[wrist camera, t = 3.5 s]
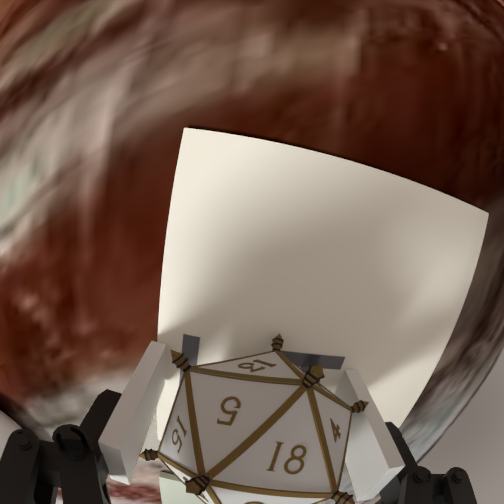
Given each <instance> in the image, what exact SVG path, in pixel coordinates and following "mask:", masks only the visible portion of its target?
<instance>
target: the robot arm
mask: <svg viewBox="0 0 504 504" xmlns="http://www.w3.org/2000/svg"><path fill="white" fill-rule="evenodd" d="M165 362H166V344H163V343H159V342H155V341H151V342H150V344H149V346H148V348H147V350H146V351H145V353H144V355H143V357H142V359H141V360H140V362H139V364H138V366H137V368H136V369H135V371H134V373H133V375H132V377H131V379H130V381H129V382H128V384H127V386H126V388H125V390H124V392H123V394H121V393H117V392H114V391H111V390H108V389H107V390H105V391H104V392H102V393H101V394H99V395H98V396H97V398H96V400H95V401H94V403H93V405H92V406H91V408H90V410H89V412H88V413H87V415H86V416H85V418H84V420H83V421H82V423H81V425H80V426H77V425H72V424H67V425H62V426H60V427H58V428H57V429H56V430H55V431H54V432H53V436H52V438H53V441H54V442H48V441H43V440H39V439H38V437H37V436H36V435H35V434H34V433H33V432H32V431H30V430H28V429H17V430H15V431H13V432H12V433H11V434H10V436H9V438H8V440H7V443H6V445H5V448H4V451H3V453H2V456H1V459H0V504H55V503H56V497H57V491H58V487H59V488H61V490H62V498H63V504H111V500H110V496H109V492H108V487H107V484H106V479H107V476H108V474H109V475H110V478H111V479H113V480H116V481H119V482H122V483H125V484H128V485H130V482H131V479H132V476H133V473H134V470H135V467H136V464H137V461H138V458H139V455H140V452H141V449H142V446H143V444H144V441H145V438H146V435H147V432H148V429H149V427H150V424H151V421H152V418H153V416H154V413H155V410H156V407H157V405H158V402H159V399H160V396H161V394H162V391H163V388H164V386H165ZM334 395H336V396H337V397H338V398H340V399H341V400H342V401H344V402H345V403H346V404H348V405H349V406H353V404H354V403H356V402H357V403H358V401H360V400H362V401H366V402H369V404H368V405H367V406H366V408H365V410H364V411H360V413H357V412H356V413H353V414H352V418H351V426H350V432H349V439H348V445H347V451H346V456H345V462H346V466H347V469H348V472H349V476H350V479H351V482H352V486H353V489H354V493H355V496H356V499H357V502H358V501H364V500H369V499H373V498H374V497H375V496H376V495H377V494H378V493H380V496H381V499H380V500H379V501H377V502H376V503H375V504H477V501H476V498H475V495H474V492H473V489H472V486H471V483H470V480H469V477H468V474H467V473H466V471H465V470H463V469H462V468H459V467H453V468H451V469H450V470H449V471H448V472H447V473H446V474H431V473H430V471H429V470H428V469H426V468H425V467H422V466H418V465H417V464H416V462H415V460H414V458H413V456H412V454H411V452H410V450H409V448H408V446H407V444H405V440H404V438H402V434H401V433H400V431H399V429H398V428H397V427H396V426H395V425H394V424H393V423H392V422H384V420H383V418H382V416H381V414H380V412H379V410H378V408H377V406H376V404H375V403H374V401H373V399H372V397H371V395H370V393H369V391H368V389H367V387H366V385H365V383H364V381H363V379H362V377H361V375H360V374H359V372H358V370H346V369H345V370H344V373H343V375H342V377H341V380H340V382H339V384H338V386H337V388H336V391H335V393H334Z"/></svg>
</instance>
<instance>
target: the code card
mask: <svg viewBox="0 0 504 504" xmlns="http://www.w3.org/2000/svg"><path fill="white" fill-rule="evenodd" d="M488 216H489V213H487V212H485V211H483V210H481V209H479V208H476V207H474V206H472V205H470V204H468V203H465V202H463V201H461V200H459V199H456V198H454V197H452V196H449V195H447V194H444V193H442V192H440V191H437V190H435V189H432V188H429V187H427V186H424V185H422V184H419V183H416V182H414V181H411V180H408V179H405V178H402V177H400V176H397V175H394V174H391V173H388V172H385V171H382V170H379V169H376V168H373V167H369V166H366V165H363V164H360V163H356V162H353V161H349V160H346V159H342V158H339V157H335V156H331V155H328V154H324V153H320V152H316V151H312V150H308V149H304V148H299V147H295V146H291V145H286V144H281V143H277V142H272V141H267V140H262V139H256V138H251V137H246V136H240V135H234V134H228V133H221V132H214V131H207V130H200V129H192V128H184V132H183V137H182V142H181V147H180V152H179V157H178V162H177V168H176V173H175V179H174V185H173V191H172V198H171V204H170V211H169V218H168V226H167V233H166V242H165V250H164V259H163V269H162V280H161V291H160V305H159V320H158V341H157V342H159V343H163V344H166V362H165V386H164V388H163V391H162V394H161V396H160V399H159V402H158V405H157V434H158V440H161V439H162V436H163V433H164V430H165V427H166V424H167V421H168V418H169V415H170V412H171V409H172V405H173V402H174V399H175V396H176V393H177V390H178V387H179V385H180V382H181V379H182V376H183V373H184V372H183V370H181V369H180V368H176V365H175V364H174V363H173V364H172V356H171V350H174V351H176V352H179V353H184V356H185V358H188V363H189V365H191V366H195V365H201V364H207V363H213V362H219V361H225V360H230V359H235V358H240V357H245V356H250V355H255V354H260V353H264V352H269V351H272V349H273V348H272V346H271V344H272V342H273V341H272V339H274V338H275V337H276V336H277V335H278V334H279V333H280V335H281V337H282V339H283V340H284V342H283V346H282V348H281V349H280V352H281V353H282V354H284V355H285V356H286V357H287V358H289V359H290V360H291V361H292V362H294V363H295V364H296V365H297V366H299V367H300V368H301V369H302V370H304V371H305V372H306V371H308V369H309V366H310V365H311V366H317V365H321V364H323V374H324V376H325V377H324V378H322V379H320V382H319V383H320V384H321V385H323V386H324V387H325V388H327V389H328V390H329V391H331V392H332V393H333V394H334V393H335V391H336V388H337V386H338V384H339V382H340V380H341V377H342V375H343V373H344V370H345V369H346V370H358V372H359V374H360V375H361V377H362V379H363V381H364V383H365V385H366V387H367V389H368V391H369V393H370V395H371V397H372V399H373V401H374V403H375V404H376V406H377V408H378V410H379V412H380V414H381V416H382V418H383V420H384V422H392V423H393V424H394V425H395V426H396V427H397V428H398V429H399V427H400V426H401V424H402V423H403V421H404V420H405V418H406V417H407V415H408V414H409V412H410V411H411V409H412V407H413V406H414V404H415V403H416V401H417V399H418V398H419V396H420V394H421V393H422V391H423V389H424V387H425V386H426V384H427V382H428V380H429V378H430V377H431V375H432V373H433V371H434V369H435V367H436V365H437V363H438V361H439V359H440V357H441V355H442V353H443V351H444V349H445V347H446V345H447V343H448V340H449V338H450V336H451V334H452V331H453V329H454V327H455V324H456V322H457V320H458V317H459V315H460V312H461V309H462V307H463V304H464V302H465V299H466V296H467V293H468V290H469V287H470V284H471V281H472V278H473V275H474V272H475V269H476V265H477V262H478V258H479V255H480V251H481V247H482V243H483V239H484V235H485V230H486V226H487V221H488ZM170 349H171V350H170Z"/></svg>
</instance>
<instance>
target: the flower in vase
mask: <svg viewBox="0 0 504 504" xmlns="http://www.w3.org/2000/svg"><path fill="white" fill-rule="evenodd" d="M17 429H22V428H21V427H20V426H19V425H18V424H17V423H16V422H15V421H13V420H12V419H11V418H10V417H9V416H7V415H6V414H5V413H3V412H2V411H1V410H0V459H1V456H2V453H3V451H4V448H5V445H6V443H7V440H8V438H9V436H10V434H11V433H12V432H13V431H15V430H17Z"/></svg>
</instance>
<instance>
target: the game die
mask: <svg viewBox="0 0 504 504" xmlns="http://www.w3.org/2000/svg"><path fill="white" fill-rule="evenodd" d="M272 341H273V342H272V344H271V346H272V348H273V349H272V351H269V352H264V353H260V354H255V355H250V356H245V357H240V358H235V359H230V360H225V361H219V362H213V363H207V364H201V365H195V366H191V365H189V363H188V358H185V356H184V353H179V352H176V351H174V350H171V349H170V350H171V356H172V364H173V363H174V364H175V365H176V368H180V369H181V370H183V372H184V373H183V376H182V379H181V382H180V385H179V387H178V390H177V393H176V396H175V399H174V402H173V405H172V409H171V412H170V415H169V418H168V421H167V424H166V427H165V430H164V433H163V436H162V439H161V442H160V446H159V449H158V451H154V450H152V449H150V450H147V449H145V451H144V452H142V453H141V454H140V455H139V456H140V457H142V458H144V459H146V461H150V460H155V459H156V458H159V459H160V460H161V461H162V462H163V463H164V464H165V465H166V466H167V468H168V469H169V470H170V471H171V472H172V473H173V474H174V475H175V476H176V477H177V478H178V479H179V480H180V481H181V482H182V483H183V484H184V485H185V486H186V493H192V494H195V495H196V496H197V497H198V498H199V499H200V500H201V501H202V502H203V503H204V504H318V503H321V502H323V501H326V500H328V499H334V501H335V502H336V503H335V504H355V502H354V500H353V498H352V497H353V495H351V496H350V495H348V494H347V492H345V493H343V492H339V491H338V490H339V486H340V481H341V477H342V472H343V467H344V462H345V456H346V451H347V445H348V439H349V432H350V426H351V418H352V414H353V413H356V412H357V413H360V411H364V410H365V408H366V406H367V405H368V404H369V402H366V401H362V400H360V401H358V403H357V402H356V403H354V404H353V406H349V405H348V404H346V403H345V402H344V401H342V400H341V399H340V398H338V397H337V396H336V395H334V394H333V393H332V392H331V391H329V390H328V389H327V388H325V387H324V386H323V385H321V384H320V383H319V382H320V379H322V378H324V377H325V376H324V374H323V364H321V365H317V366H311V365H310V366H309V369H308V371H306V372H305V371H304V370H302V369H301V368H300V367H299V366H297V365H296V364H295V363H294V362H292V361H291V360H290V359H289V358H287V357H286V356H285V355H284V354H282V353H281V352H280V349H281V348H282V346H283V342H284V340H283V339H282V337H281V335H280V333H279V334H278V335H277V336H276V337H275V338H274V339H272Z"/></svg>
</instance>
